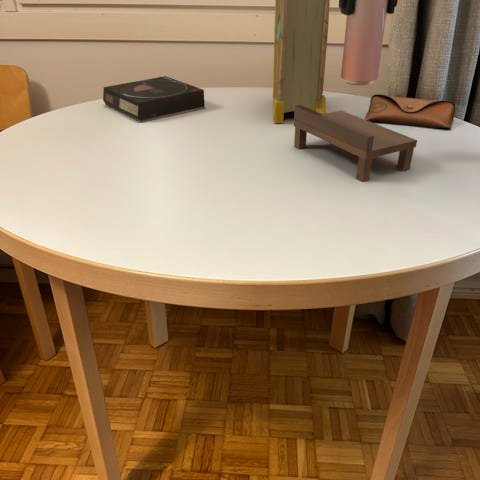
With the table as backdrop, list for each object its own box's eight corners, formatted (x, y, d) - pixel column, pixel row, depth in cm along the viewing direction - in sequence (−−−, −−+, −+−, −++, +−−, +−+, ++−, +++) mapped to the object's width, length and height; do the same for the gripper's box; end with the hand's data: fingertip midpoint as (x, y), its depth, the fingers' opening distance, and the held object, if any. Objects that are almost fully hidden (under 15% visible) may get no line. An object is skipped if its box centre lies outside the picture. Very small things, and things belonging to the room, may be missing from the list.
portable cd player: (103, 105, 123) (101, 87, 120) (167, 93, 131) (165, 76, 128) (138, 123, 112) (135, 103, 110) (204, 108, 120) (203, 89, 118)
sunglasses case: (362, 120, 111) (369, 87, 110) (364, 128, 118) (370, 97, 117) (452, 128, 106) (460, 94, 105) (449, 137, 113) (456, 104, 112)
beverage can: (344, 76, 90) (355, -30, 81) (379, 78, 88) (395, -29, 79) (336, 84, 86) (347, -26, 77) (373, 87, 84) (389, -25, 75)
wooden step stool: (338, 136, 104) (342, 97, 100) (411, 169, 91) (420, 125, 86) (292, 146, 100) (294, 105, 96) (362, 182, 86) (368, 136, 82)
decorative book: (271, 98, 126) (275, -56, 108) (317, 99, 126) (329, -56, 107) (272, 125, 110) (277, -50, 92) (325, 125, 110) (341, -51, 92)
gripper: (332, -145, 66) (319, 19, 77) (459, -145, 68) (430, 15, 79) (314, -140, 72) (305, 12, 83) (433, -140, 74) (409, 8, 85)
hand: (367, 12), depth 81 cm, fingers closed on beverage can, 6 cm apart
